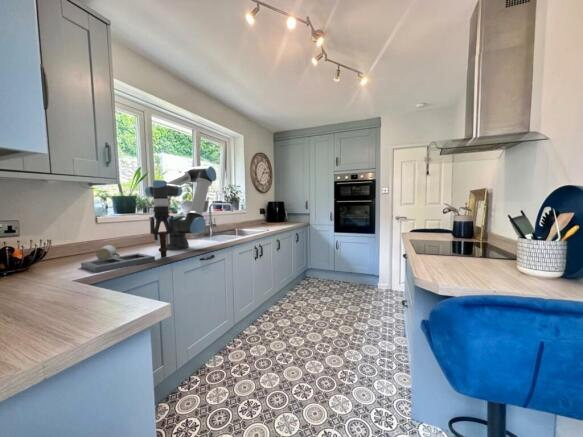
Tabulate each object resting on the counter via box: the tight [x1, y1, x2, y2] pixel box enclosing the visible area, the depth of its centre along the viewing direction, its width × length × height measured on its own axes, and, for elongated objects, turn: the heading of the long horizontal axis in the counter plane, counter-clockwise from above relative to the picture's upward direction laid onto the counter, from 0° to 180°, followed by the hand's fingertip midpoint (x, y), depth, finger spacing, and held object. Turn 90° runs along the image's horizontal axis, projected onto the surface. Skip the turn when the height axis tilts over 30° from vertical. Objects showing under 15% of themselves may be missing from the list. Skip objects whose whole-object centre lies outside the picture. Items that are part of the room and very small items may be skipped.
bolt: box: [158, 231, 169, 258], centre depth 145 cm, size 6×5×15 cm
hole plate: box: [80, 252, 156, 274], centre depth 129 cm, size 27×19×2 cm
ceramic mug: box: [95, 244, 121, 260], centre depth 143 cm, size 11×8×8 cm
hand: (163, 244), depth 145 cm, fingers closed on bolt, 5 cm apart
